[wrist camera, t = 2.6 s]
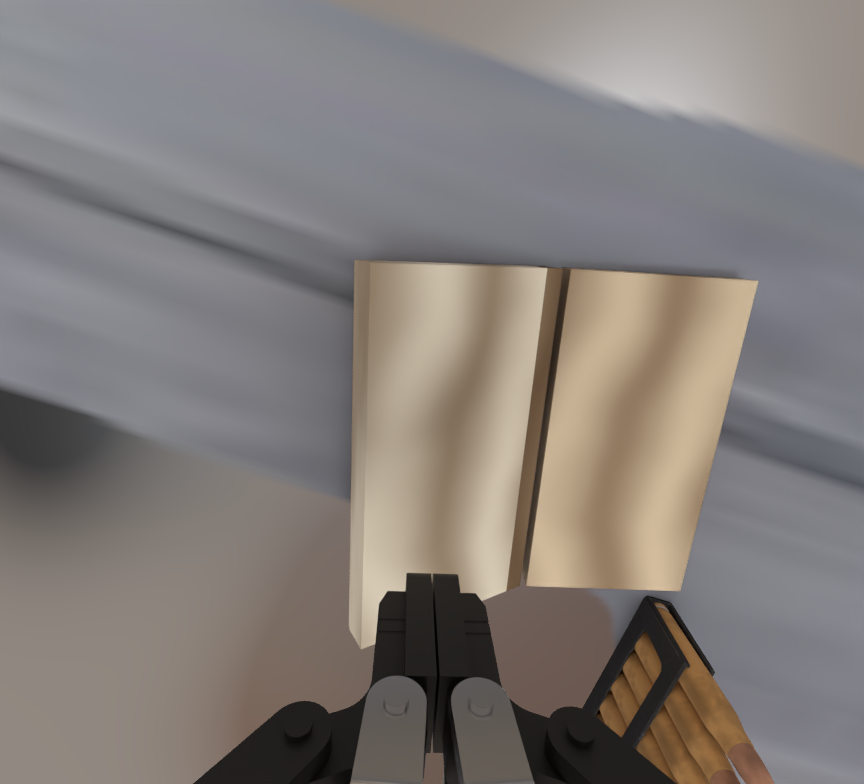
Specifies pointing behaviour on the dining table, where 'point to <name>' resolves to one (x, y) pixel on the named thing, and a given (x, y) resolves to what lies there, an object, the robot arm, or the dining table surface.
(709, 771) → the ammunition clip
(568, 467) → the oak board
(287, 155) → the dining table surface
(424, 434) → the birch plank
